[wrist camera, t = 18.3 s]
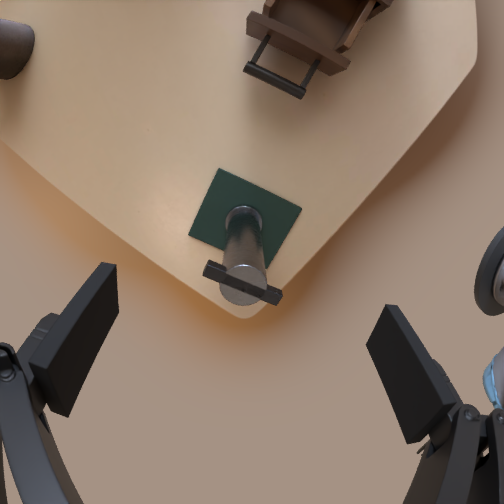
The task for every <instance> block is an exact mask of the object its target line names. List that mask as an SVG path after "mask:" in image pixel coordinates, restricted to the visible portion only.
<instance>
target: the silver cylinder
mask: <svg viewBox="0 0 504 504" xmlns="http://www.w3.org/2000/svg"><path fill="white" fill-rule="evenodd" d="M225 227H226V230H227V234H226V241H225V248H224V255H223V262H222V265H221V264H218V263H216V262H214V261H212V260H208V262H207V264H206V266H205V268H204V271H203V276H204V277H207V278H209V279H211V280H214V281H216V282H219V283H220V291H221V293H222V295H223V296H224V298H225V299H226V300H228V301H229V302H231V303H233V304H236V305H241V306H246V305H251V304H254V303H256V302H258V301H259V300H263V301H265V302H268V303H270V304H273V305H275V306H277V304H278V303H279V301H280V300H281V298H282V297H283V295H282V290H280V289H278V288H275V287H273V286H270V285H268V284H267V278H266V270H265V263H264V255H263V247H262V239H261V229H262V217H261V215H260V213H259V211H258V210H257V209H256V208H254V207H253V206H250V205H246V204H241V205H237V206H235V207H233V208H232V209H231V210H230V211H229V212H228V214H227V216H226V220H225Z"/></svg>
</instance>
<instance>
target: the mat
mask: <svg viewBox="0 0 504 504" xmlns="http://www.w3.org/2000/svg"><path fill="white" fill-rule="evenodd" d="M241 204H246V205H250V206H253V207H254V208H256V209H257V210H258V211H259V213H260V215H261V217H262V229H261V239H262V247H263V255H264V263H265V269H267V268H268V266H269V265H270V263H271V261H272V260H273V258H274V256H275V255H276V253H277V251H278V250H279V248H280V246H281V244H282V243H283V241H284V239H285V238H286V236H287V234H288V232H289V231H290V229H291V227H292V226H293V224H294V222H295V220H296V219H297V217H298V215H299V213H300V212H301V210H302V208H301V207H299V206H297V205H295V204H293V203H291V202H289V201H287V200H285V199H283V198H281V197H279V196H277V195H275V194H273V193H271V192H269V191H267V190H265V189H263V188H260V187H258V186H256V185H254V184H252V183H250V182H248V181H246V180H244V179H242V178H240V177H237V176H235V175H233V174H231V173H229V172H227V171H225V170H222V169H220V168H219V169H218V171H217V173H216V175H215V177H214V179H213V181H212V183H211V185H210V188H209V190H208V192H207V194H206V196H205V198H204V200H203V203H202V205H201V207H200V209H199V211H198V214H197V216H196V218H195V220H194V223H193V225H192V227H191V229H190V232H189V234H188V235H189V236H192V237H194V238H196V239H198V240H201V241H203V242H205V243H207V244H210V245H212V246H214V247H217V248H219V249H221V250H223V251H224V248H225V241H226V234H227V230H226V227H225V220H226V216H227V214H228V212H229V211H230V210H231V209H232V208H233V207H235V206H237V205H241Z"/></svg>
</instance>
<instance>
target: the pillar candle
mask: <svg viewBox="0 0 504 504" xmlns="http://www.w3.org/2000/svg"><path fill="white" fill-rule="evenodd" d="M33 45H34V33H33V30H32V28H31V27H30V26H28V25H26V24H22V23H18V22H14V21H9V20H5V19H0V79H4V80H5V79H6V80H7V79H11V78H13V77H15V76H16V75H17V74H18V73H20V72H21V70H22V69H23V68H24V66H25V65H26V63H27V62H28V60H29V57H30V55H31V53H32V50H33Z"/></svg>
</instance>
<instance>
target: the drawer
mask: <svg viewBox="0 0 504 504" xmlns="http://www.w3.org/2000/svg"><path fill="white" fill-rule="evenodd" d="M376 2H377V1H376V0H266V2H265V3H264V7H263V12H262V14H259V13H257V12H255V11H251V12H250V14H249V16H248V17H247V23H246V34H247V35H249V36H251V37H254V38H256V39H258V40H261V41H262V42H261V44H260V46H259V47H258V49H257V51H256V52H255V54H254V56H253V58H252V59H251V62H250V61H248V62H247V64H246V66H245V67H244V70H243V72H245V73H247V74H249V75H251V76H254V77H256V78H258V79H260V80H262V81H264V82H266V83H268V84H270V85H272V86H274V87H276V88H278V89H280V90H282V91H284V92H286V93H288V94H290V95H292V96H294V97H296V98H298V99H300V100H301V99H302V98H303V96H304V95H305V93H306V89H305V88H306V86H307V84H308V83H309V81H310V79H311V77H312V76H313V74H314V72H315V70H316V69H318V70H320V71H322V72H323V73H325V74H327V75H329V76H332V75H334V74H336V73H339V72H341V71H344V70H346V69H347V67H348V65H349V64H350V62H351V61H350V60H348V59H347V58H345V57H343V56H342V55H340V54H341V53H343V52H345V51H346V50H348V49H350V47H351V45H352V44H353V42H354V40H355V38H356V37H357V35H358V33H359V31H360V30H361V28H362V26H363V24H364V23H365V21H366V19H367V17H368V16H369V14H370V12H371V10H372V9H373V7H374V5H375V3H376ZM267 44H269V45H272V46H274V47H276V48H278V49H280V50H282V51H284V52H286V53H288V54H290V55H292V56H294V57H296V58H298V59H300V60H302V61H304V62H306V63H307V64H309V65H311V67H310V69H309V71H308V72H307V74H306V76H305V78H304V79H303V81H302V83H301V85H300V86H299V85H297V84H295V83H293V82H291V81H289V80H287V79H285V78H283V77H282V76H280V75H278V74H275V73H273V72H271V71H269V70H267V69H265V68H263V67H261V66H259V65H257V64H256V62H257V60H258V59H259V57H260V55H261V54H262V52H263V50H264V48H265V47H266V45H267Z"/></svg>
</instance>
